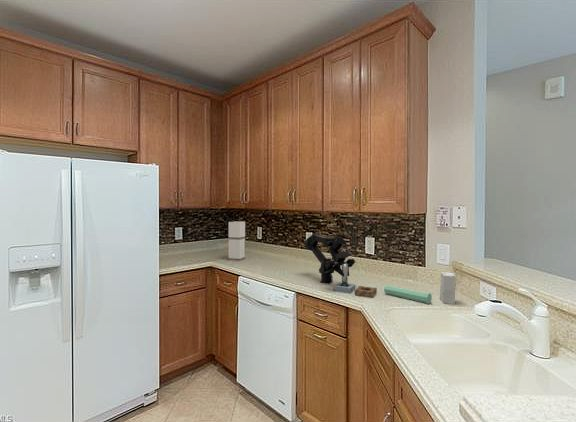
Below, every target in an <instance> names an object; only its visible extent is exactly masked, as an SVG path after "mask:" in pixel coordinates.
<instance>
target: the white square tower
mask: <svg viewBox="0 0 576 422" xmlns="http://www.w3.org/2000/svg"><path fill="white" fill-rule="evenodd" d="M245 241H246V221H236V220H235V221H228V261H230V260H235V261H234V262H241V260H242V261H244V260H246V257H245V256H246V255H245V252H246V251H245V248H246V247H245Z"/></svg>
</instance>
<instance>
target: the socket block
mask: <svg viewBox="0 0 576 422" xmlns="http://www.w3.org/2000/svg"><path fill="white" fill-rule="evenodd" d="M355 289H356V283H355V284H354V283H349V282H348V287H345V286H342V281H340V282H338V283H336V284H335V285H334V286H333V292H337V293H343V294H350V295H351V294H352V293H353V292H355Z"/></svg>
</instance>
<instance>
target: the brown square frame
mask: <svg viewBox="0 0 576 422" xmlns="http://www.w3.org/2000/svg"><path fill="white" fill-rule="evenodd" d="M377 292H378V289H377V287H372V286H371V287H370V286H365V285H364V286H363V285H359V286H358V287H356V288H355V290H354V295H355V297H356V296H358V297H364V298H369V297H370V298H372V299H373V298H375V296H376V295H377Z"/></svg>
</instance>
